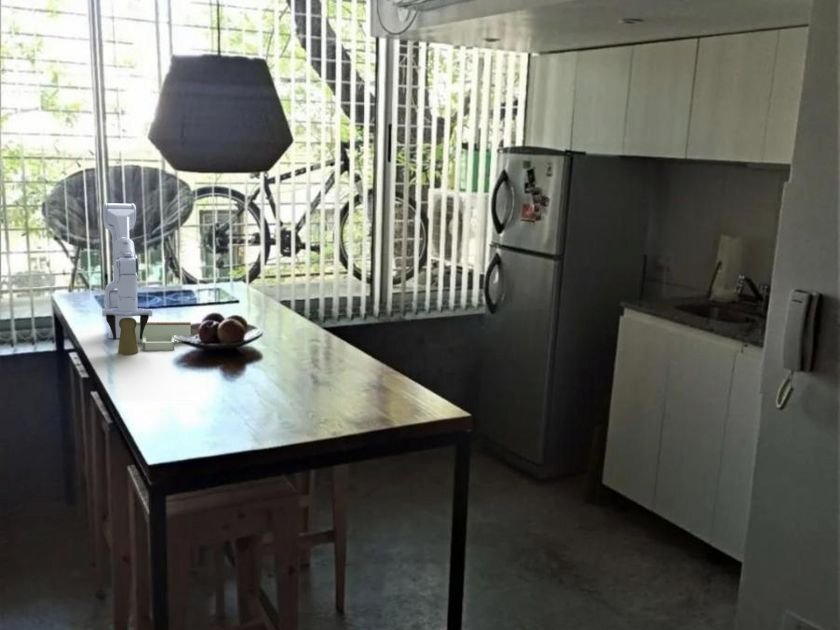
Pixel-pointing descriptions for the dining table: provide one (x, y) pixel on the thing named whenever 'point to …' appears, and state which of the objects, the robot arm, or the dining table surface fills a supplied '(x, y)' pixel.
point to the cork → (127, 337)
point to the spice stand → (161, 334)
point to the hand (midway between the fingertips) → (128, 338)
